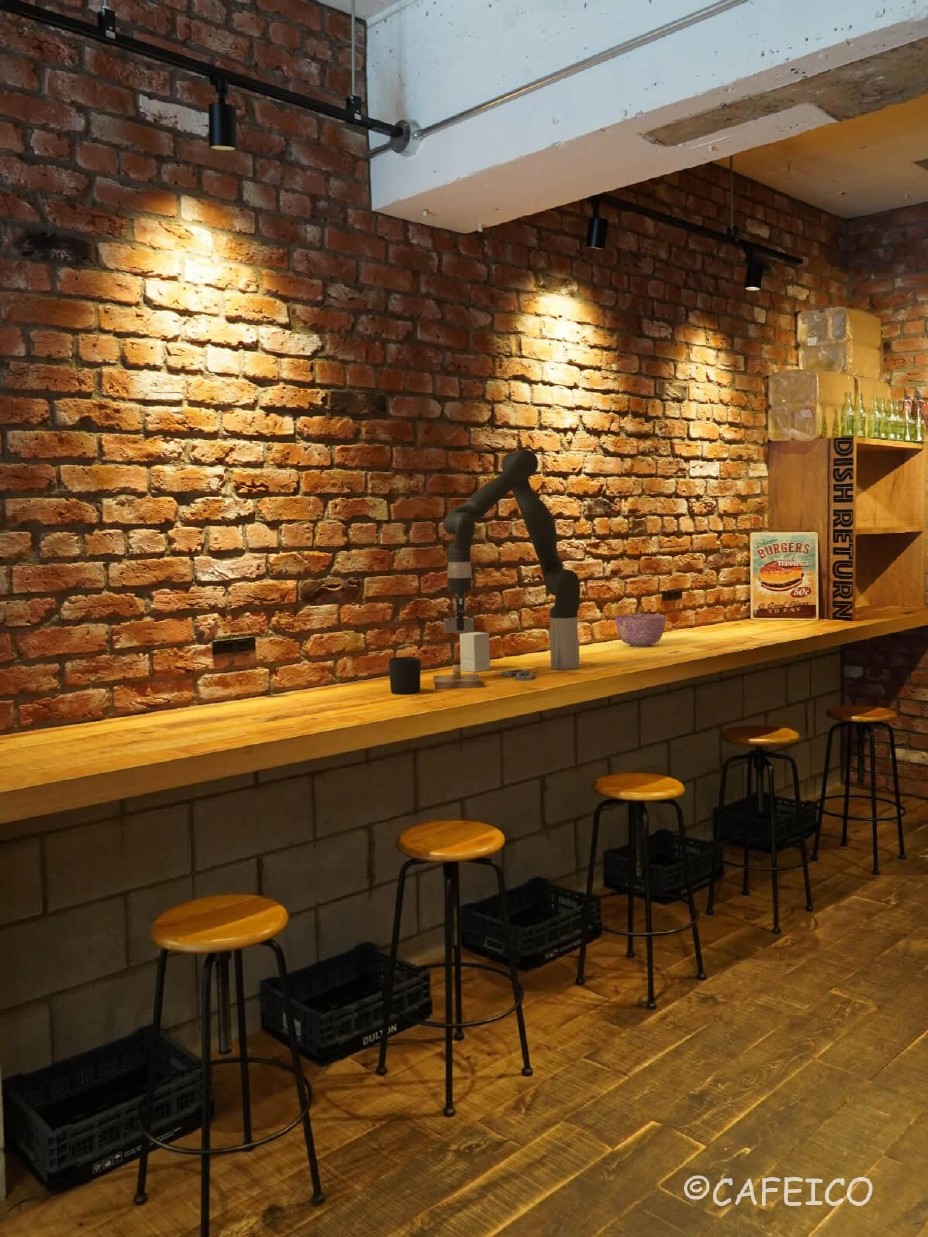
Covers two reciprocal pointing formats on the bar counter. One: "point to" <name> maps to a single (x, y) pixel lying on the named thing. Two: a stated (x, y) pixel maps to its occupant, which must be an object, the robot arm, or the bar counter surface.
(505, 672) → the slack link
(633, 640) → the purple bowl
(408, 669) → the pen holder
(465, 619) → the end link
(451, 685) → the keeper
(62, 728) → the bar counter surface
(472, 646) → the supplement box
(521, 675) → the slack link
